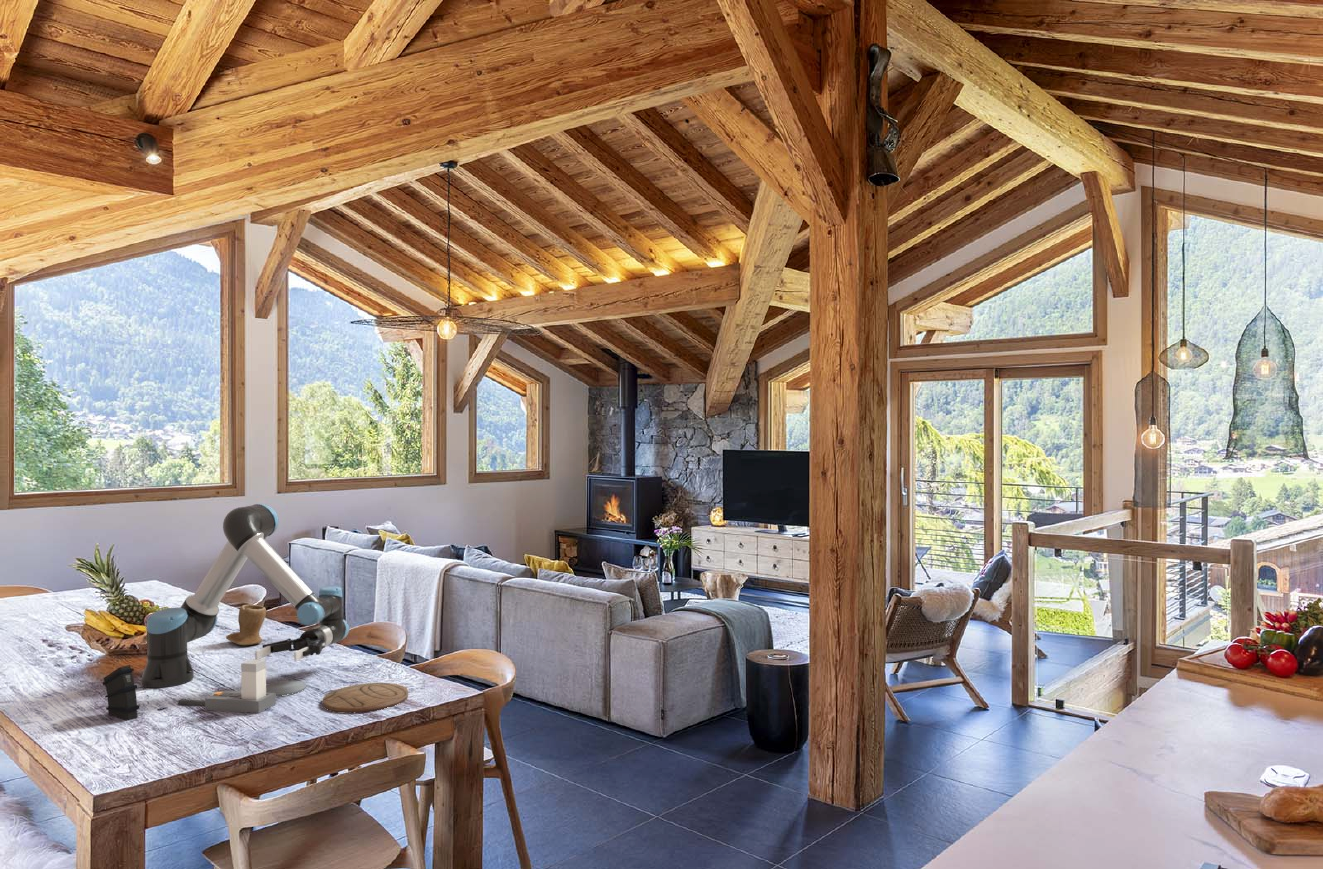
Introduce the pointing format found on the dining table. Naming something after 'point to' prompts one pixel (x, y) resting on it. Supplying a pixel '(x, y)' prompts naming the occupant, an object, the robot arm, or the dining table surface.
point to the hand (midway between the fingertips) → (275, 656)
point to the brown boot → (249, 625)
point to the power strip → (233, 702)
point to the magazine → (121, 693)
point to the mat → (285, 687)
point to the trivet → (365, 697)
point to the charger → (253, 679)
